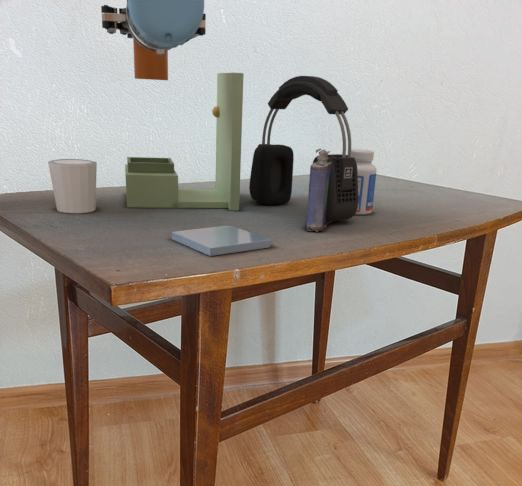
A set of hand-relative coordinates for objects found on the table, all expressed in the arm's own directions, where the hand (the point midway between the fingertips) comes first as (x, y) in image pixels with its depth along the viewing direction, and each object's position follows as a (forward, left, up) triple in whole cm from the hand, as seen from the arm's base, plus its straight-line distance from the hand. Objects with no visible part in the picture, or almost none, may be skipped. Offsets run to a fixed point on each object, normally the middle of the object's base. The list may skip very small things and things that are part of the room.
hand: (148, 29), depth 91 cm
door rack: (+5, 0, -25) cm, 26 cm away
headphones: (+26, +3, -26) cm, 36 cm away
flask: (+31, -5, -26) cm, 41 cm away
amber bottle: (+3, -4, -7) cm, 9 cm away
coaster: (+24, -22, -26) cm, 42 cm away
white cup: (-3, -16, -26) cm, 30 cm away
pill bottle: (+34, +9, -26) cm, 43 cm away
